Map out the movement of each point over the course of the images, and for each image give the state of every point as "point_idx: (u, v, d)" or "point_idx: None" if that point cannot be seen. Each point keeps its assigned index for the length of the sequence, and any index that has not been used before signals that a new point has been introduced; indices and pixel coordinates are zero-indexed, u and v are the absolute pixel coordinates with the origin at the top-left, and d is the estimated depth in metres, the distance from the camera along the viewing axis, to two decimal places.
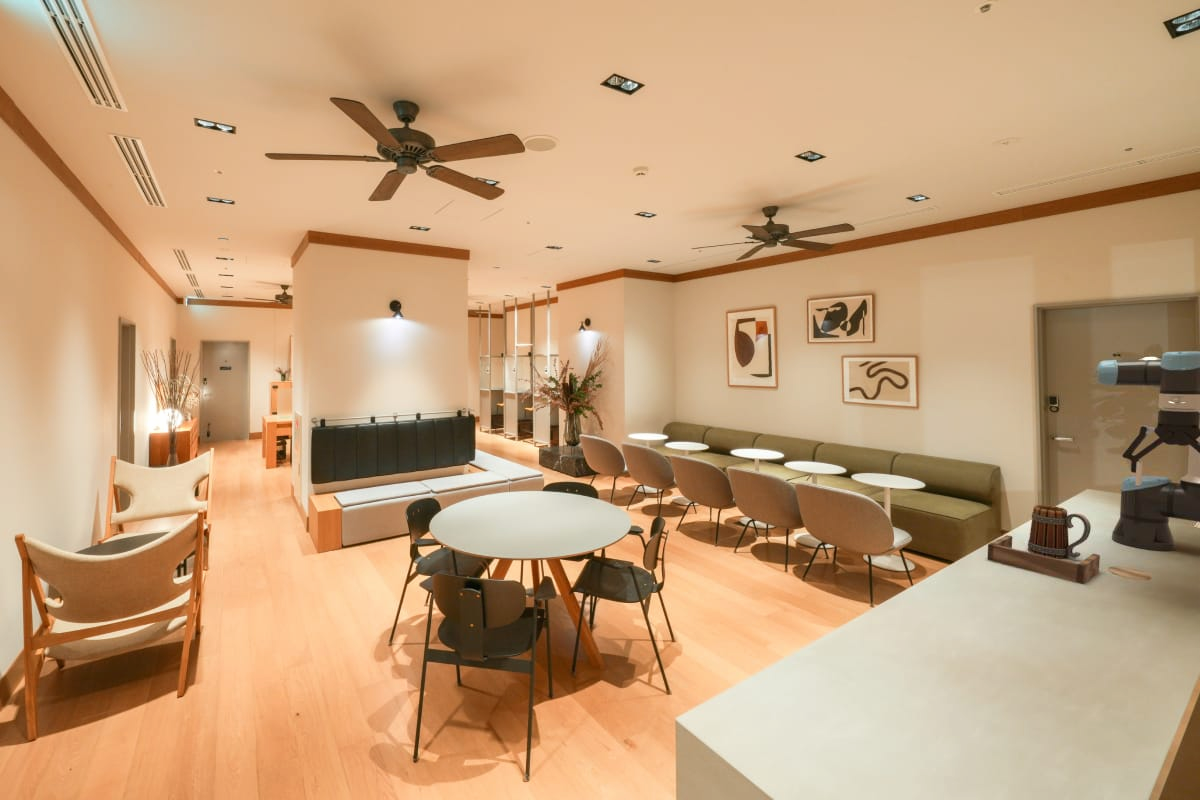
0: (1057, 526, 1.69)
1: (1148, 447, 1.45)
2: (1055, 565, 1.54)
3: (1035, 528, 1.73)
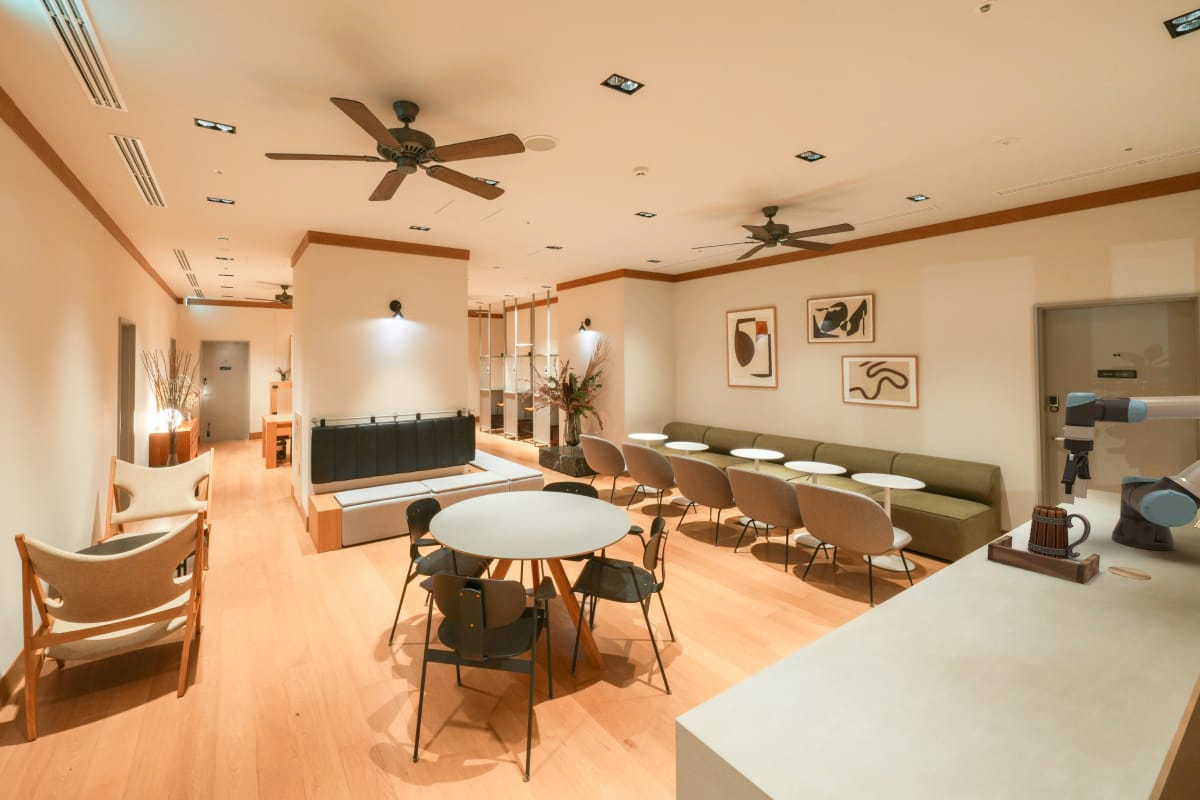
0: (1057, 526, 1.69)
1: None
2: (1055, 565, 1.54)
3: (1035, 528, 1.73)
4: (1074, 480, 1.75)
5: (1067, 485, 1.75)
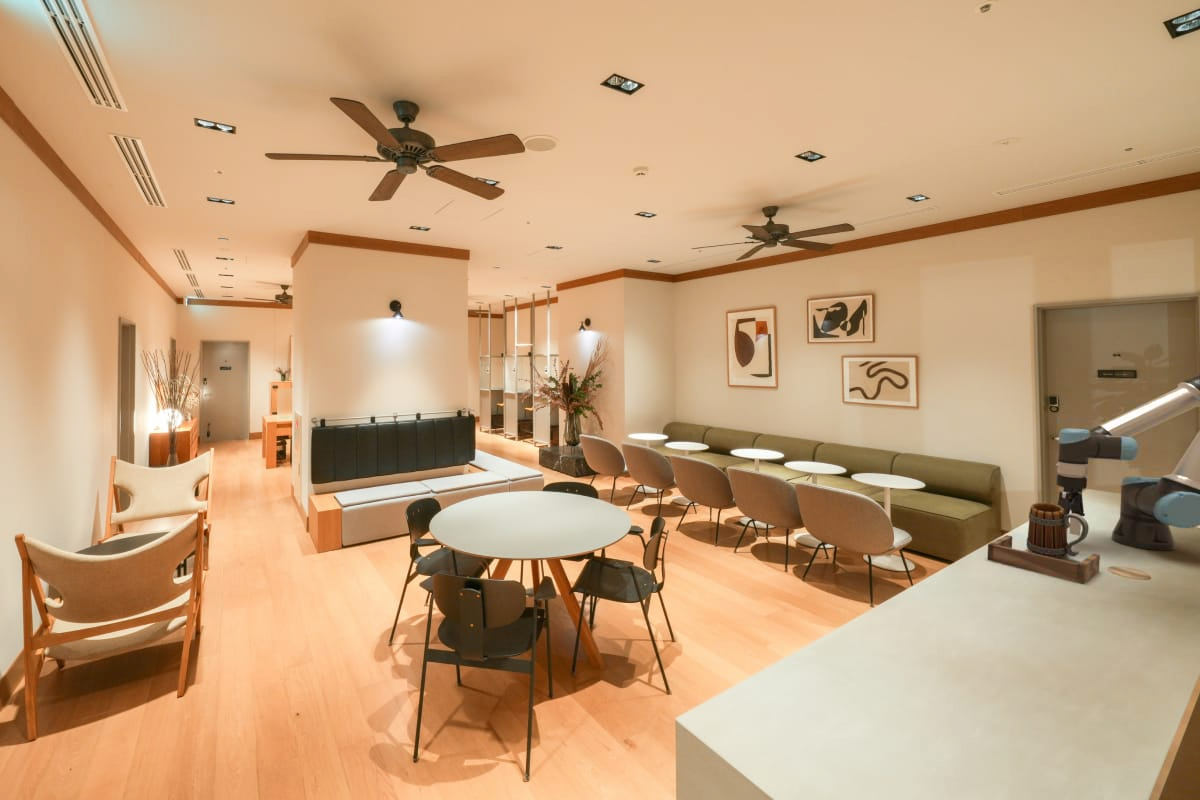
0: (1055, 527, 1.67)
1: None
2: (1055, 565, 1.54)
3: (1033, 529, 1.72)
4: None
5: None
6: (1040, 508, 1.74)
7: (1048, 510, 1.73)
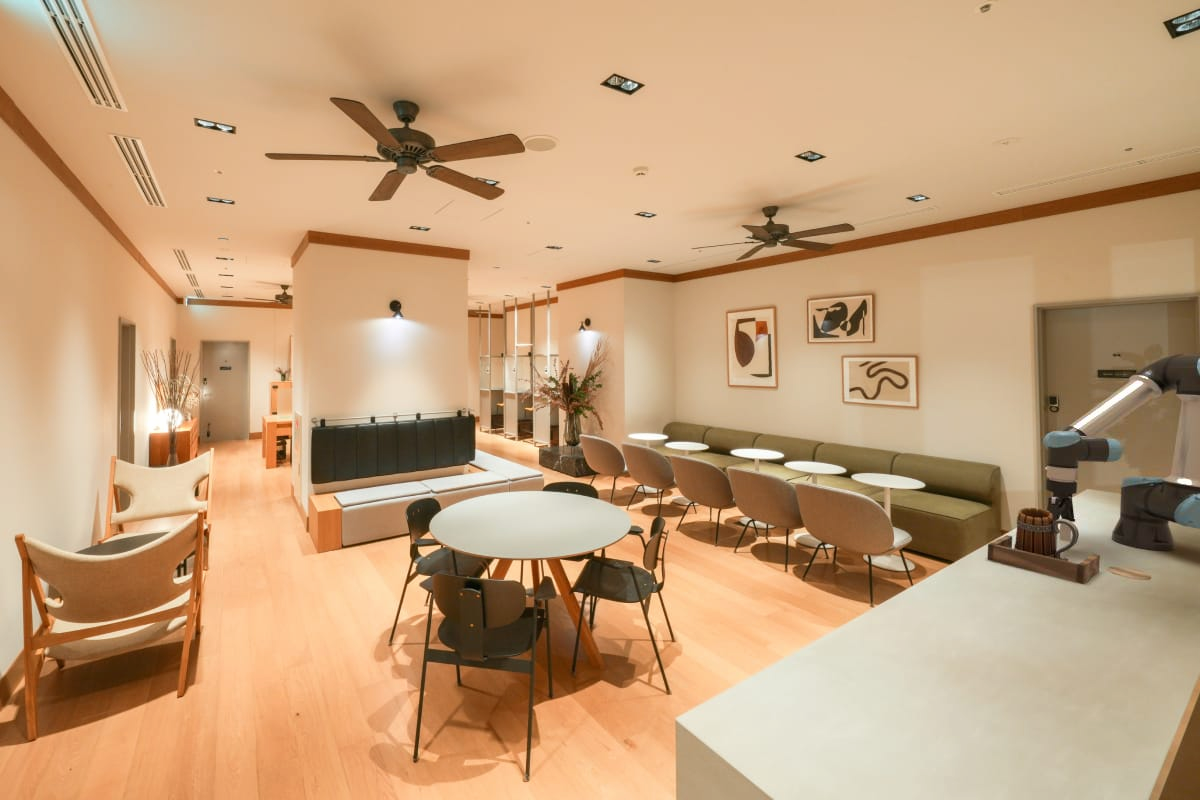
0: (1044, 534, 1.61)
1: None
2: (1055, 565, 1.54)
3: (1021, 535, 1.65)
4: None
5: None
6: (1028, 513, 1.68)
7: (1036, 515, 1.67)
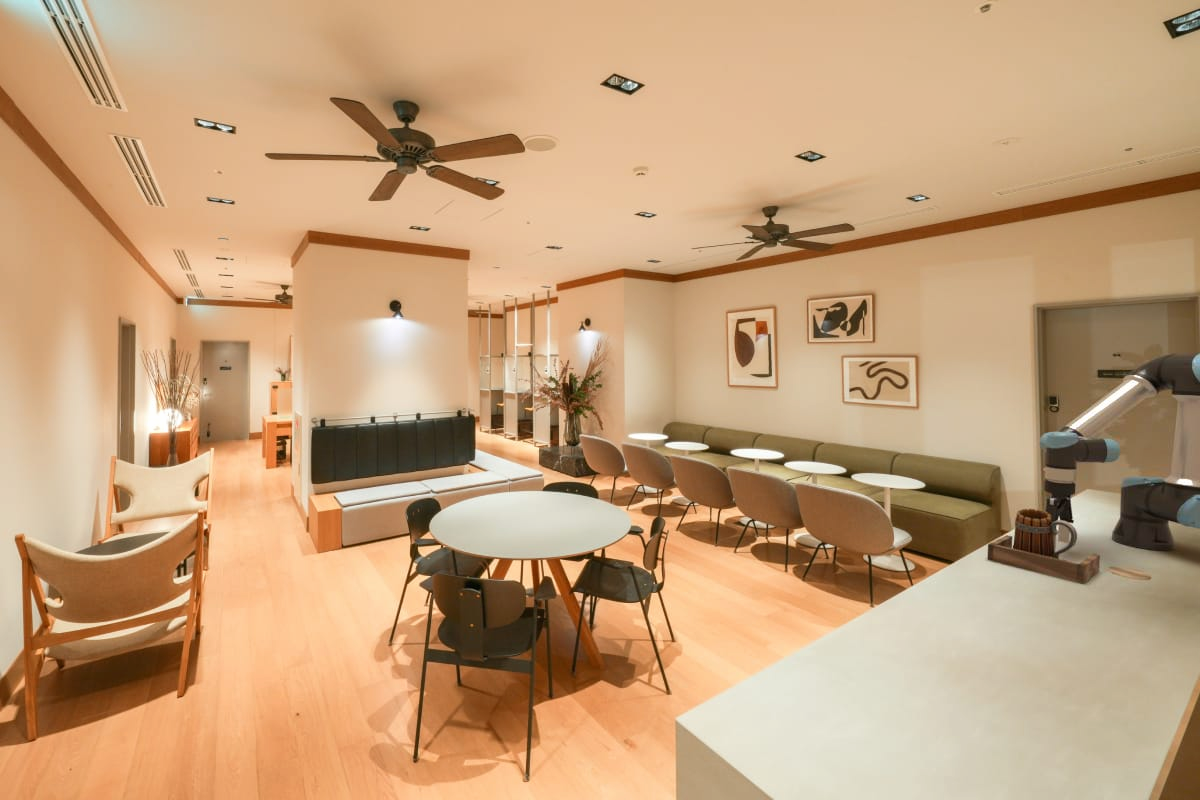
0: (1042, 535, 1.60)
1: None
2: (1055, 565, 1.54)
3: (1019, 536, 1.64)
4: None
5: None
6: (1026, 514, 1.67)
7: (1034, 516, 1.66)
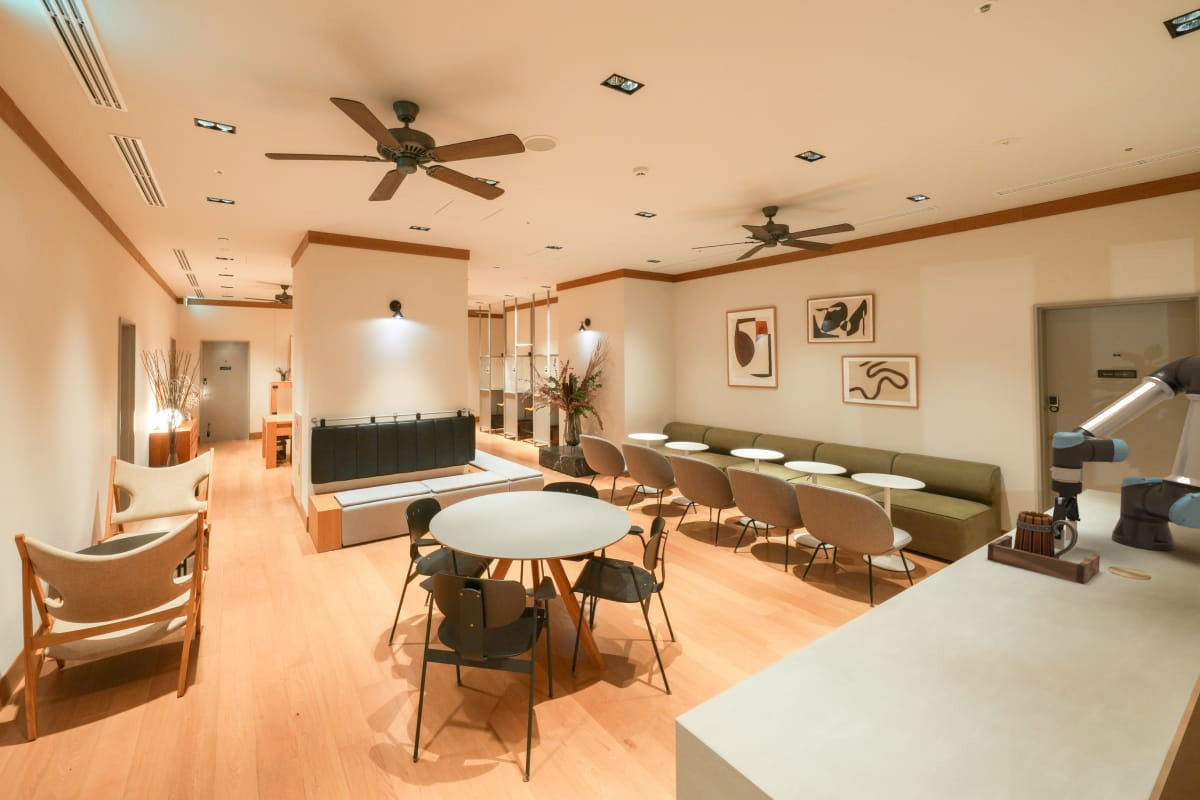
0: (1043, 534, 1.61)
1: None
2: (1055, 565, 1.54)
3: (1020, 536, 1.65)
4: (1063, 525, 1.68)
5: None
6: None
7: None
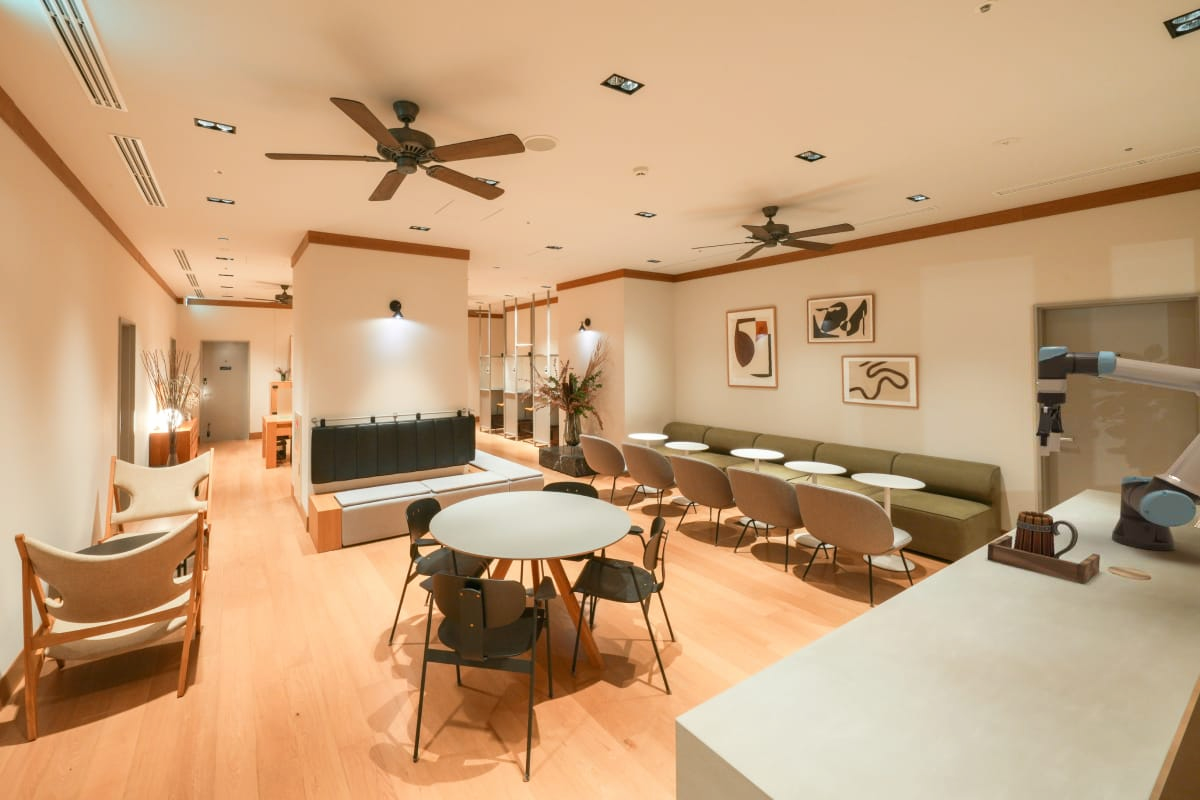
0: (1044, 534, 1.61)
1: None
2: (1055, 565, 1.54)
3: (1021, 536, 1.65)
4: (1049, 432, 1.77)
5: (1042, 437, 1.78)
6: None
7: None
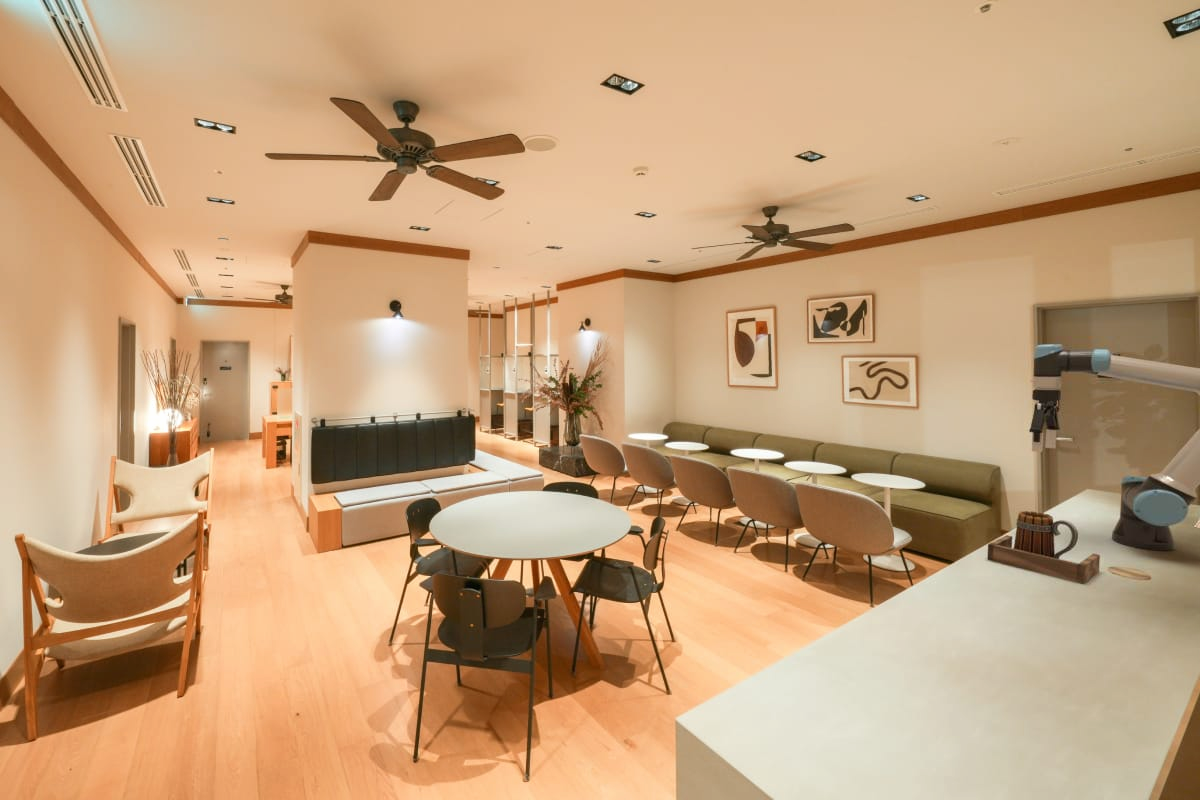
0: (1044, 534, 1.61)
1: None
2: (1055, 565, 1.54)
3: (1021, 536, 1.65)
4: (1042, 428, 1.80)
5: (1035, 433, 1.81)
6: None
7: None
